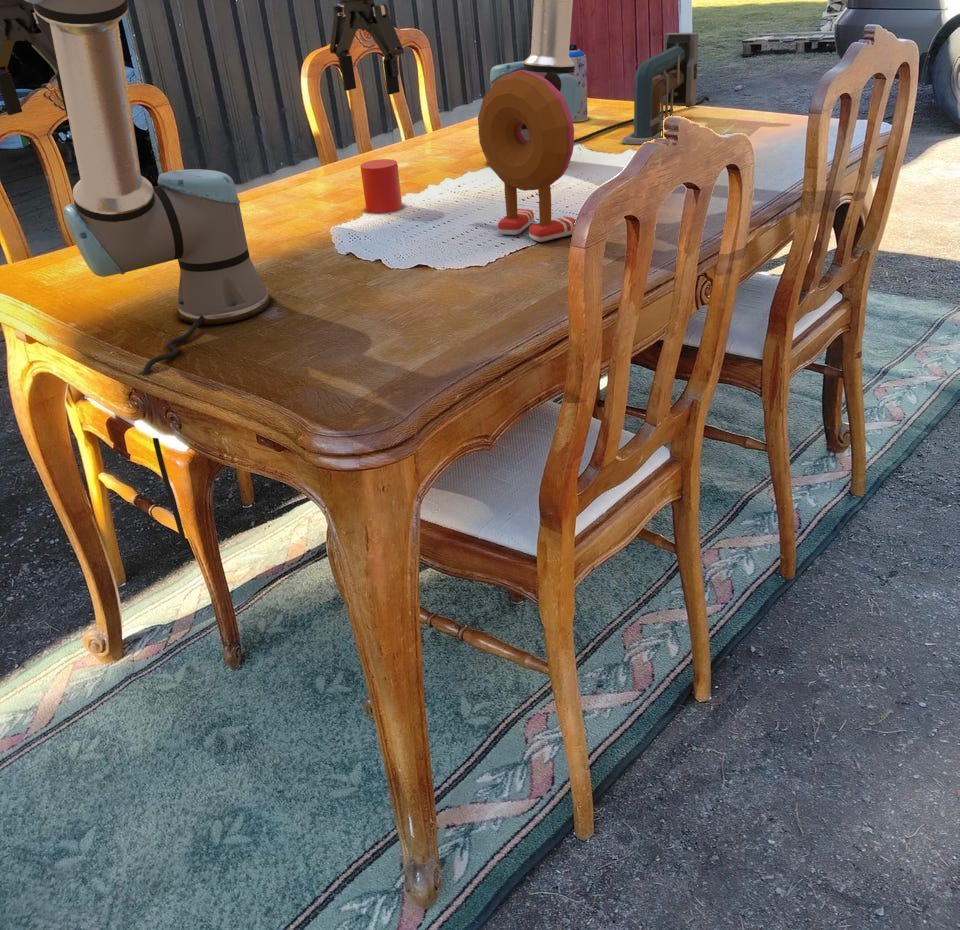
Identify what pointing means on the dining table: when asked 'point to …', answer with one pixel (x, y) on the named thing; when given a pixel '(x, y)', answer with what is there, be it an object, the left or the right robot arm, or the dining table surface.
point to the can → (381, 186)
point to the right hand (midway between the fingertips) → (371, 91)
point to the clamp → (664, 85)
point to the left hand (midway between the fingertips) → (44, 113)
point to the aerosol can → (580, 79)
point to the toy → (528, 147)
